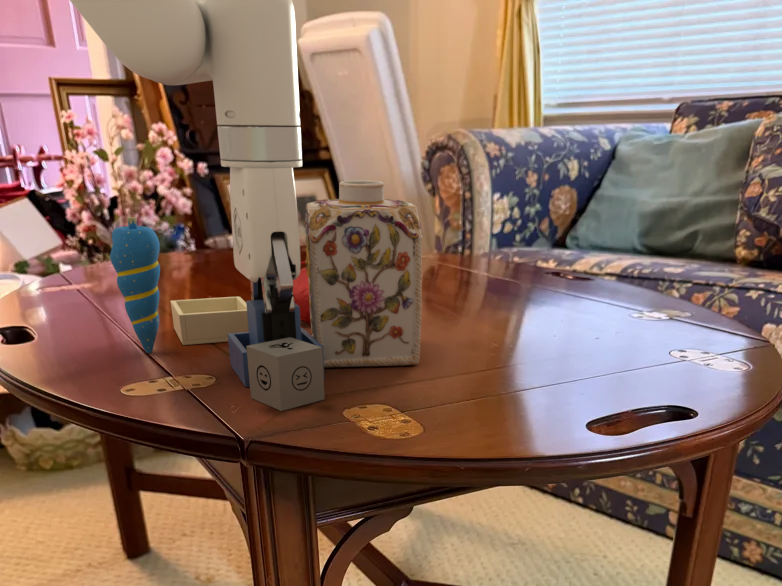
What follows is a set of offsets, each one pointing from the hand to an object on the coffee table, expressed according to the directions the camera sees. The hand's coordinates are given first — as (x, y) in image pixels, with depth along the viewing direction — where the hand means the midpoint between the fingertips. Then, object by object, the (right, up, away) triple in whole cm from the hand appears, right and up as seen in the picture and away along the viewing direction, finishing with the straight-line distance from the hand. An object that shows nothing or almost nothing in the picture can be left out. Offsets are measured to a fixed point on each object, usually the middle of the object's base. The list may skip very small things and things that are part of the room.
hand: (275, 344), depth 79 cm
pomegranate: (+3, +9, +23) cm, 24 cm away
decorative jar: (+9, +1, +8) cm, 12 cm away
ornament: (-15, +1, +8) cm, 17 cm away
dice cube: (+2, -7, -6) cm, 10 cm away
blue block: (0, 0, 0) cm, 0 cm away
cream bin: (-10, +5, +16) cm, 20 cm away
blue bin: (0, -3, +1) cm, 3 cm away
